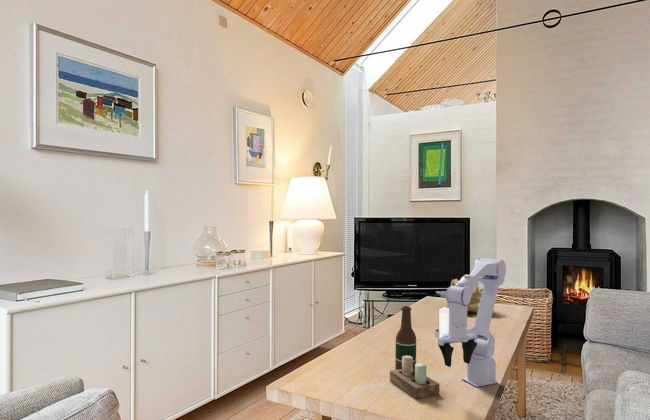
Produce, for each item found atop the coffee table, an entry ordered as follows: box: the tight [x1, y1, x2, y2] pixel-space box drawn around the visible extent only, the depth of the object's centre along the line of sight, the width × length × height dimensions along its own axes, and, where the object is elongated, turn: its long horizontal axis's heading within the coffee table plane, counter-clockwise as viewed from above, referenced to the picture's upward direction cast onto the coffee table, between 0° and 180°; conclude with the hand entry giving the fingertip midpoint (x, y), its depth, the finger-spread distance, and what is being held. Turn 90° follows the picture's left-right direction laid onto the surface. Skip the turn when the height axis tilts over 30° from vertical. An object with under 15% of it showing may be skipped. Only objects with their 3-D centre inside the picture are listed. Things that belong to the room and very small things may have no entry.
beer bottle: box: [394, 305, 417, 370], centre depth 167 cm, size 8×8×24 cm
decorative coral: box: [450, 275, 495, 314], centre depth 261 cm, size 26×22×25 cm
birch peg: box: [402, 356, 413, 377], centre depth 156 cm, size 4×4×9 cm
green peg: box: [415, 362, 427, 385], centre depth 148 cm, size 4×4×9 cm
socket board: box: [389, 369, 440, 400], centre depth 152 cm, size 9×16×4 cm, turn 23°
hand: (457, 364), depth 147 cm, fingers open, 7 cm apart
